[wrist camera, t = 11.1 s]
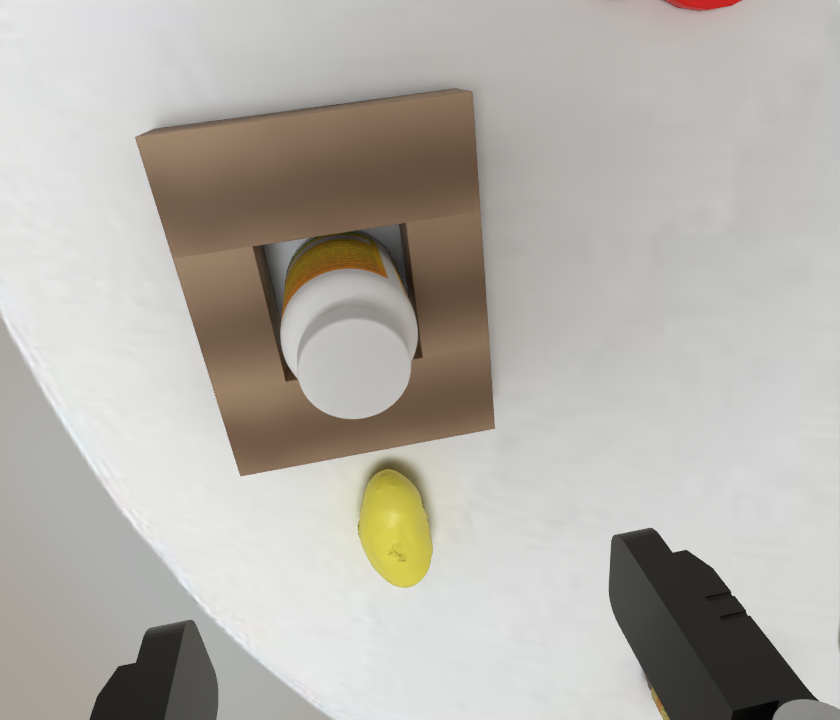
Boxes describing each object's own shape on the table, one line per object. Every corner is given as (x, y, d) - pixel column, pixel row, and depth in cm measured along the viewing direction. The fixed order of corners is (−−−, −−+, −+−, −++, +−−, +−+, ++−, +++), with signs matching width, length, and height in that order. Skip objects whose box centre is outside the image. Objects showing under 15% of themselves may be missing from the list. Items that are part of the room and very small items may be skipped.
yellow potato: (421, 451, 35) (433, 493, 32) (429, 554, 39) (441, 602, 35) (348, 462, 35) (352, 506, 31) (364, 565, 38) (369, 615, 35)
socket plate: (153, 129, 25) (134, 137, 23) (456, 88, 27) (472, 91, 24) (246, 442, 33) (240, 476, 30) (480, 399, 34) (494, 428, 31)
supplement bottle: (262, 282, 29) (241, 376, 20) (340, 202, 28) (353, 265, 19) (343, 352, 31) (355, 462, 23) (418, 280, 30) (462, 368, 22)
